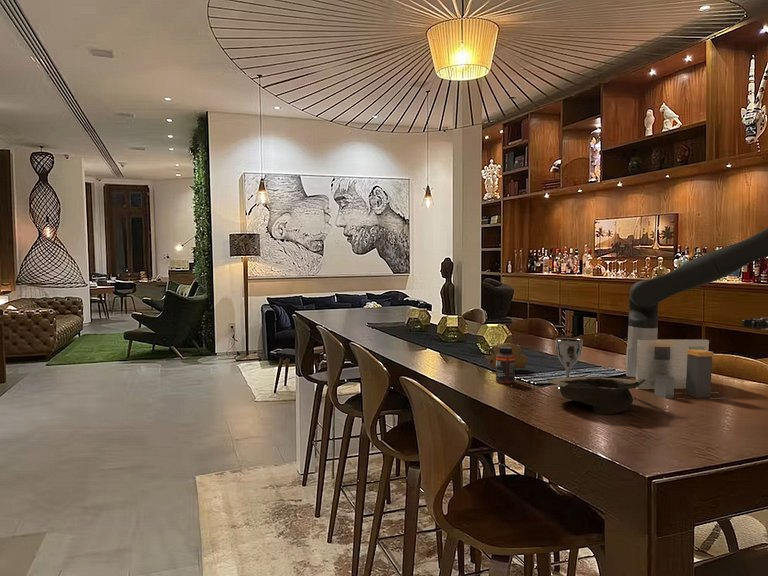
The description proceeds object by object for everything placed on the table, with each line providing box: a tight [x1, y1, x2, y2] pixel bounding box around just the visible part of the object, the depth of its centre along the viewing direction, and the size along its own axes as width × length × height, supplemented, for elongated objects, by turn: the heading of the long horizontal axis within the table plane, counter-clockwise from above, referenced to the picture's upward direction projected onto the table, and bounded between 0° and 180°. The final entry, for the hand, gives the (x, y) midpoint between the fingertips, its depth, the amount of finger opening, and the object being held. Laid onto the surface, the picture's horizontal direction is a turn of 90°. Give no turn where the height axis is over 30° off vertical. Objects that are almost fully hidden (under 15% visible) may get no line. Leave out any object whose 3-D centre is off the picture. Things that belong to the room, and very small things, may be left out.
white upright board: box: [635, 339, 725, 400], centre depth 170 cm, size 23×15×16 cm
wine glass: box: [554, 337, 583, 390], centre depth 180 cm, size 8×8×15 cm
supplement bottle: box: [495, 347, 516, 385], centre depth 186 cm, size 6×6×11 cm
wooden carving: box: [484, 342, 530, 370], centre depth 206 cm, size 16×5×10 cm, turn 108°
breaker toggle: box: [685, 350, 714, 398], centre depth 168 cm, size 5×5×13 cm
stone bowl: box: [547, 376, 646, 415], centre depth 158 cm, size 25×25×9 cm
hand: (748, 324), depth 169 cm, fingers open, 3 cm apart
